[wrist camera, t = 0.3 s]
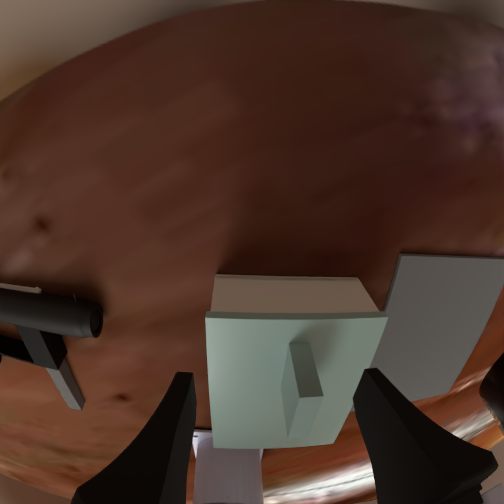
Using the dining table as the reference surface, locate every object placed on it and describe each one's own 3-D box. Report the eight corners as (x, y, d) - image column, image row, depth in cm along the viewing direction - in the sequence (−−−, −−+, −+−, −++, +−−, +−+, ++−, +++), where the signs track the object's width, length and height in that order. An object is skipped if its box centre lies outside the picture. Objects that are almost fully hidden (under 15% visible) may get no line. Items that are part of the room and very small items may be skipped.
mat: (445, 390, 29) (447, 392, 28) (344, 409, 28) (345, 412, 28) (510, 257, 21) (512, 259, 21) (399, 253, 20) (401, 255, 20)
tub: (321, 400, 27) (330, 437, 23) (217, 402, 26) (216, 441, 22) (357, 277, 21) (380, 314, 17) (215, 274, 21) (210, 314, 16)
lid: (329, 429, 24) (342, 480, 19) (214, 433, 23) (212, 487, 18) (378, 302, 18) (416, 363, 13) (207, 300, 17) (197, 373, 12)
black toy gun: (129, 426, 25) (82, 305, 18) (-9, 386, 24) (-68, 279, 16) (135, 401, 28) (99, 278, 21) (1, 369, 27) (-50, 262, 19)
